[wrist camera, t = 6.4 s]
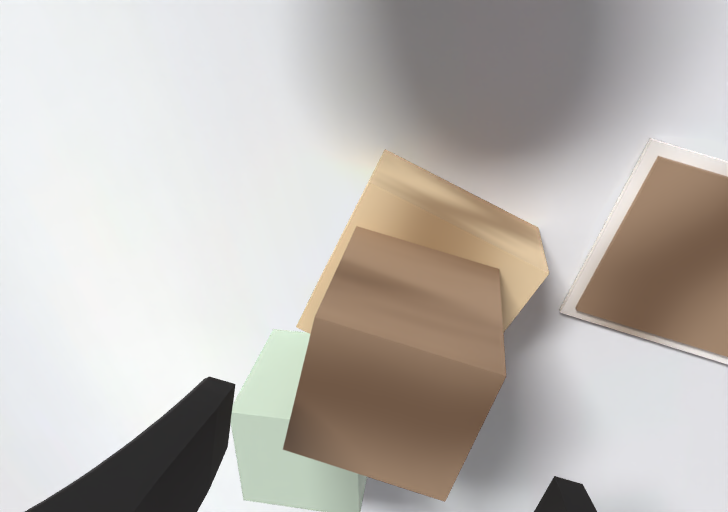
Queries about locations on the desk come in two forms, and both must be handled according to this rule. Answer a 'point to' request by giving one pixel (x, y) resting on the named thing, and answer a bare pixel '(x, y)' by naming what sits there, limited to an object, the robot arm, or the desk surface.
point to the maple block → (442, 231)
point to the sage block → (268, 432)
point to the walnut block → (400, 364)
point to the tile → (663, 255)
